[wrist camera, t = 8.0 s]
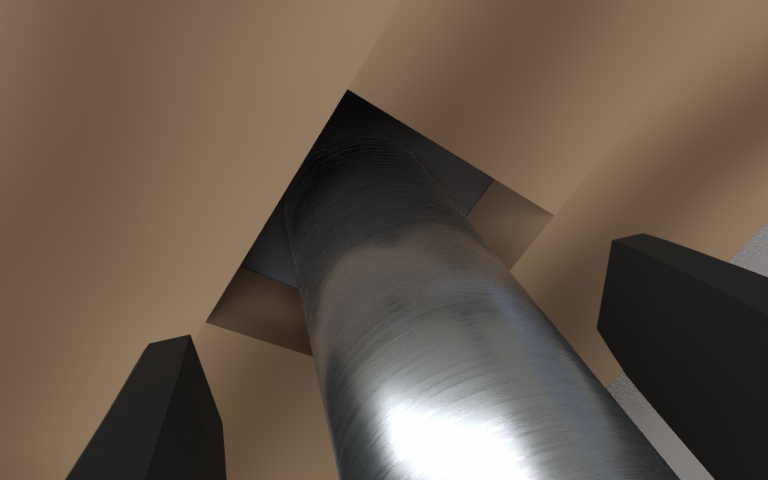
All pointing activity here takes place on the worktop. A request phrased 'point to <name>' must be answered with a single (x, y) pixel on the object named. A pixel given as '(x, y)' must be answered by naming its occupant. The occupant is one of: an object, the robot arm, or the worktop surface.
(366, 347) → the long pin
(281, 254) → the worktop surface
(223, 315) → the hole plate
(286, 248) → the worktop surface
